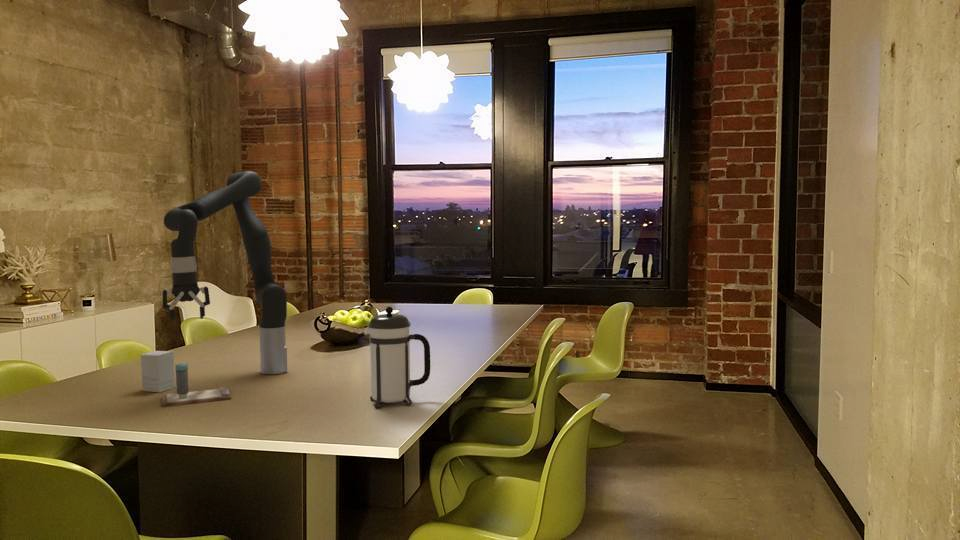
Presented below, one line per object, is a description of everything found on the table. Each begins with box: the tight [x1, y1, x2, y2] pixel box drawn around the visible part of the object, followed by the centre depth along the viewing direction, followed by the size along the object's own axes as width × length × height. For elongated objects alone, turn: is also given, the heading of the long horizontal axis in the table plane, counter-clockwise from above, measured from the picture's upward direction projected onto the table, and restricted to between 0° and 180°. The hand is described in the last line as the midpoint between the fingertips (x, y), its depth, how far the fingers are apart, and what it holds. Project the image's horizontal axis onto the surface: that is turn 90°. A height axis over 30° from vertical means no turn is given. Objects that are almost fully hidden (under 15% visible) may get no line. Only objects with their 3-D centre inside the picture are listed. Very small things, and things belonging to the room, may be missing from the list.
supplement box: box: [140, 350, 176, 393], centre depth 229 cm, size 7×7×13 cm
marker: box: [174, 363, 190, 399], centre depth 214 cm, size 4×4×10 cm
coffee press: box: [363, 306, 431, 409], centre depth 209 cm, size 17×16×30 cm
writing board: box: [161, 386, 232, 408], centre depth 217 cm, size 20×13×2 cm, turn 115°
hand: (187, 319), depth 223 cm, fingers open, 8 cm apart
